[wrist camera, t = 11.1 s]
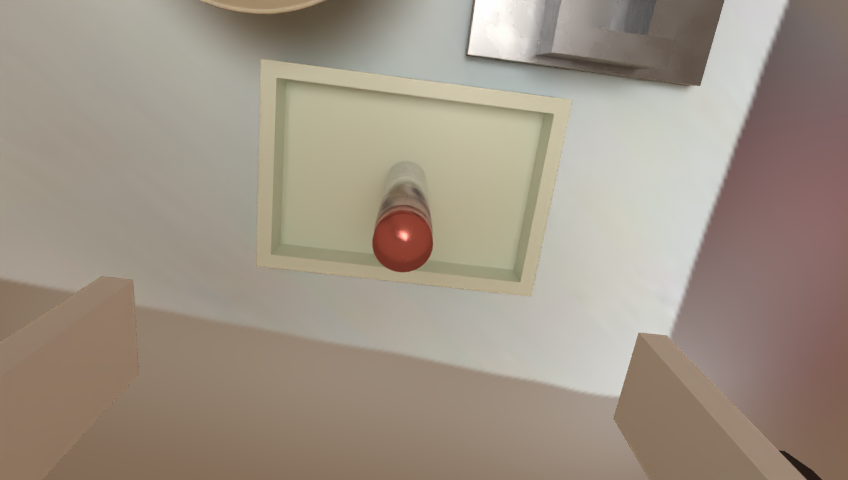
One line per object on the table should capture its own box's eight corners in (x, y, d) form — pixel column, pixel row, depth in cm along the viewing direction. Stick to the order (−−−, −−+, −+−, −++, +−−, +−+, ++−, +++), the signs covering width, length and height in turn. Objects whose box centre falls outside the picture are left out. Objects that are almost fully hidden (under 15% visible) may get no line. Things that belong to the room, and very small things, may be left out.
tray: (269, 250, 38) (256, 266, 35) (275, 60, 34) (261, 58, 31) (522, 279, 39) (531, 296, 36) (558, 98, 35) (572, 100, 32)
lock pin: (385, 196, 36) (368, 269, 22) (389, 158, 36) (374, 210, 21) (423, 201, 37) (429, 276, 22) (428, 163, 36) (438, 217, 22)
